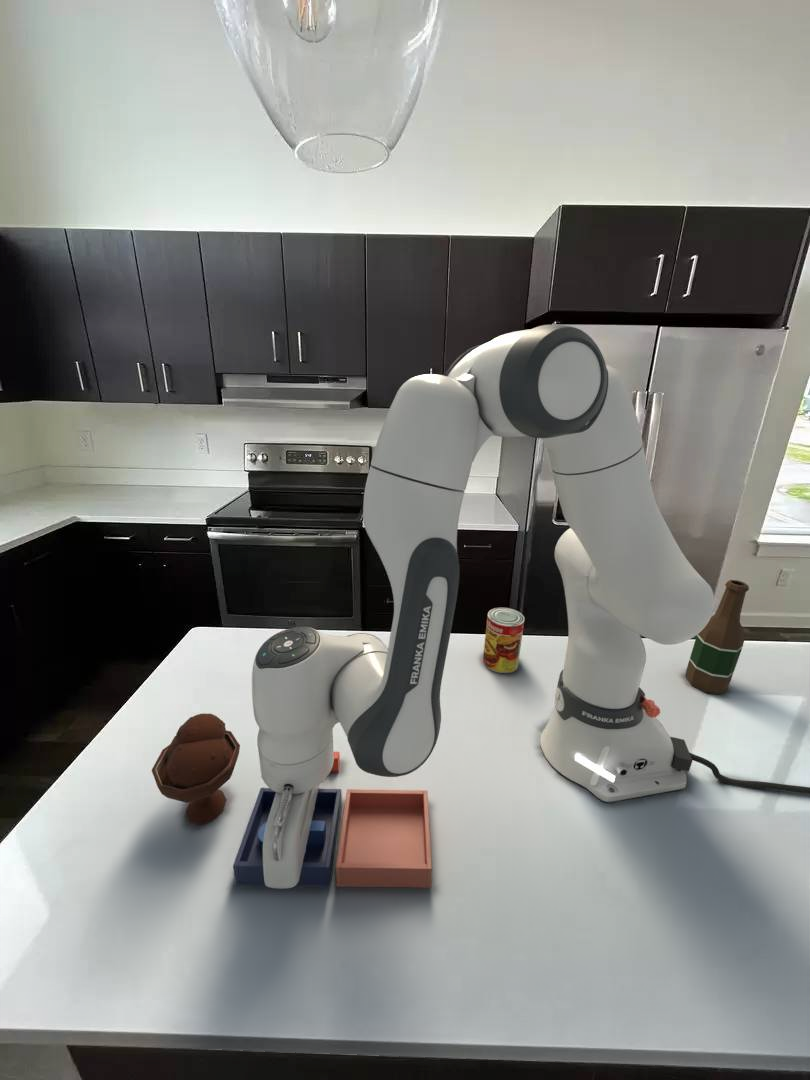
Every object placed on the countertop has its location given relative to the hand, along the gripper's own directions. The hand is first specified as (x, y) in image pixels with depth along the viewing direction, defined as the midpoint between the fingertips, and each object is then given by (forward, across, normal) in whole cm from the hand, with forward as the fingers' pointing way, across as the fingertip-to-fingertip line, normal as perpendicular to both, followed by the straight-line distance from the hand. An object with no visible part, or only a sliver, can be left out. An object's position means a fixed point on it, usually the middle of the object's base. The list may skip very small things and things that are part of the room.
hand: (303, 831), depth 57 cm
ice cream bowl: (+2, +5, +16) cm, 16 cm away
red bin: (+2, 0, -11) cm, 11 cm away
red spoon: (+2, +12, +2) cm, 12 cm away
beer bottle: (+2, +35, -78) cm, 86 cm away
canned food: (+2, +41, -36) cm, 54 cm away
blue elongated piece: (+2, 0, +2) cm, 2 cm away
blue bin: (+2, 0, +2) cm, 3 cm away
